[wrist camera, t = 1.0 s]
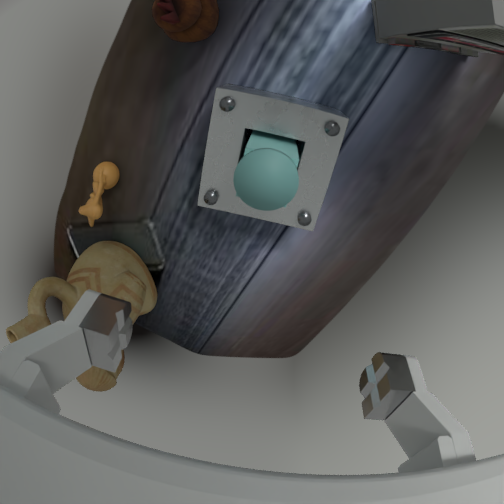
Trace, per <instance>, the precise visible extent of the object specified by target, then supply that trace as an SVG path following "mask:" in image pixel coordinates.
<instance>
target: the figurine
mask: <svg viewBox="0 0 504 504" xmlns="http://www.w3.org/2000/svg"><path fill="white" fill-rule="evenodd" d="M119 176H120V174H119V169H118V167H117V166H116V165H115V164H114V163H112V162H102V163H100V164H99V165H98V166H97V167H96V168H95V170H94V172H93V180H94V182H93V191H94V192H93V193H91V194H90V197H91V199H89V200H88V201H87V203H86V205H84V206H81V207H80V209H79V213H80V214H81V215H85V216H88V220H89V224H90V226H91V227H93V225H94V220H95V219H98V218H100V217H101V215H102V213H103V205H102V198H101V195H102V194H103V193H104V189H110V188H112V187H114V186H115V185H116V184H117V182H118V180H119Z"/></svg>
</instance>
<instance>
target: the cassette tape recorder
mask: <svg viewBox="0 0 504 504" xmlns="http://www.w3.org/2000/svg"><path fill="white" fill-rule="evenodd" d="M371 2H372V9H373V17H374V26H375V35H376V43H387V44H388V45H397V46H407V47H408V46H410V47H418V48H425V49H434V50H440V51H446V52H452V53H455V54H460V55H465V56H472V57H478V52H484V53H494V54H500V55H504V0H371Z"/></svg>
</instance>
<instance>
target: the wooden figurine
mask: <svg viewBox="0 0 504 504" xmlns="http://www.w3.org/2000/svg"><path fill="white" fill-rule="evenodd" d="M152 15H153V18H154V20H155V22H156V24H157V25H158V26H159V27H160V28H162V29H164V32H165V33H166V34H167V35H168V36H169V37H170V38H171V39H172V40H175V41H179V42H197V41H200V40H204V39H207V38H208V37H209V36H210V35H211V34H213V33H214V31H215V29H216V27H217V24H218V19H219V8H218V4H217V0H155V1H154V3H153V7H152Z"/></svg>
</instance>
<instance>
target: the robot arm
mask: <svg viewBox="0 0 504 504" xmlns="http://www.w3.org/2000/svg"><path fill="white" fill-rule="evenodd" d="M131 311H132V308H131V303H130V302H129V301H125V300H122V299H119V298H116V297H113V296H109V295H106V294H103V293H99V292H96V291H93V290H90V289H89V290H87V291H85V292H84V294H83V295H82V297H81V298H80V299H79V301H78V302H77V304H76V305H75V306H74V308H73V309H72V311H71V312H70V314H69V315H68V316H67V318H66V319H65V321H61V320H60V321H58V322H56V323H53V324H51V325H49V326H47V327H45V328H43V329H41V330H38V331H36V332H34V333H32V334H30V335H28V336H26V337H24V338H21V339H19V340H17V341H15V342H13V343H11V344H9V345H7V346H5V347H4V348H3V349H2V351H1V353H0V504H504V454H502V455H498V456H494V457H490V458H486V459H482V460H477V461H476V458H475V454H474V450H473V447H472V443H471V439H470V436H469V432H468V431H467V430H466V429H465V428H464V427H463V426H462V425H461V424H460V423H459V422H458V420H457V419H456V418H455V417H454V416H453V415H452V414H451V413H450V412H449V411H448V410H447V409H446V408H445V407H444V405H443V404H442V403H441V402H440V401H439V400H438V399H437V398H436V397H435V396H434V395H433V394H432V393H430V392H428V391H427V387H426V384H425V381H424V378H423V374H422V371H421V368H420V365H419V362H418V359H417V358H416V357H415V356H409V355H400V354H390V353H381V352H378V353H376V354H375V355H374V356H373V358H372V364H371V365H369V366H367V367H366V368H365V369H364V371H363V372H362V374H361V378H360V384H359V387H360V393H361V394H362V395H363V396H364V398H365V399H364V400H363V402H362V407H363V414H364V419H374V420H385V423H386V424H387V426H388V427H389V429H390V430H391V432H392V433H393V435H394V436H395V438H396V439H397V441H398V442H399V444H400V445H401V447H402V448H403V450H404V451H405V453H406V454H407V456H408V457H409V460H407V461H406V462H404V463H403V464H401V465H400V467H399V468H398V471H399V473H388V474H370V475H314V474H313V475H312V474H296V473H283V472H273V471H264V470H255V469H248V468H241V467H235V466H228V465H222V464H217V463H212V462H207V461H202V460H197V459H192V458H188V457H184V456H179V455H175V454H171V453H167V452H163V451H160V450H156V449H153V448H149V447H146V446H142V445H139V444H136V443H133V442H130V441H127V440H123V439H121V438H118V437H115V436H112V435H109V434H106V433H103V432H101V431H98V430H95V429H93V428H90V427H88V426H85V425H83V424H80V423H78V422H75V421H73V420H71V419H68V418H66V417H64V416H62V415H59V412H60V410H61V409H60V407H59V404H58V403H57V401H56V399H55V397H54V395H53V394H54V393H55V392H56V391H58V390H59V389H61V388H62V387H63V386H65V385H66V384H68V383H69V382H71V381H72V380H74V379H75V378H76V377H78V376H79V375H81V374H82V373H84V372H85V371H86V370H88V369H89V368H91V367H92V366H95V367H98V368H101V369H105V370H108V371H111V372H114V373H115V372H116V370H117V367H118V365H119V363H120V361H121V359H122V353H121V350H123V349H125V348H126V347H127V345H128V343H129V341H130V338H131V334H132V328H133V327H132V326H133V323H132V319H131V318H130V317H129V315H130V313H131ZM91 365H92V366H91Z"/></svg>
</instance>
